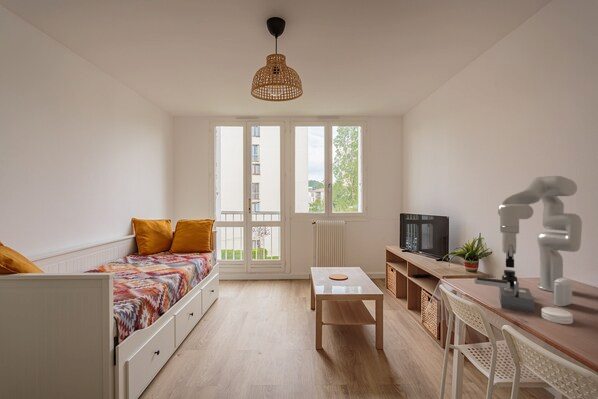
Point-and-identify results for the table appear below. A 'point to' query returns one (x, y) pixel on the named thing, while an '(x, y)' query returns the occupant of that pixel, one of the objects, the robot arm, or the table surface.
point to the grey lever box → (516, 298)
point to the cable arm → (492, 282)
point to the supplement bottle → (510, 277)
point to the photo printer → (562, 292)
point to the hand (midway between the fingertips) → (509, 267)
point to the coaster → (557, 315)
